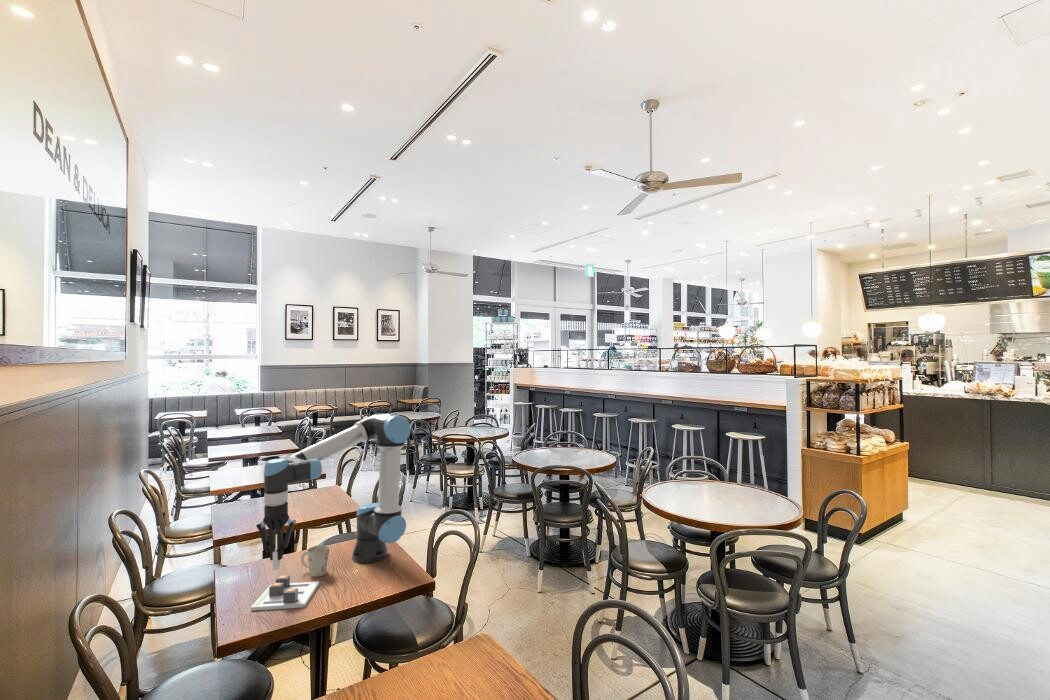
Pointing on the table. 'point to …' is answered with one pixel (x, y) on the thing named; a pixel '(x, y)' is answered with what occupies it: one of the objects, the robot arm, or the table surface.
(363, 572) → the table surface
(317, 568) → the mug
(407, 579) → the table surface
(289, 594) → the block
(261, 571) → the table surface
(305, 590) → the panel
